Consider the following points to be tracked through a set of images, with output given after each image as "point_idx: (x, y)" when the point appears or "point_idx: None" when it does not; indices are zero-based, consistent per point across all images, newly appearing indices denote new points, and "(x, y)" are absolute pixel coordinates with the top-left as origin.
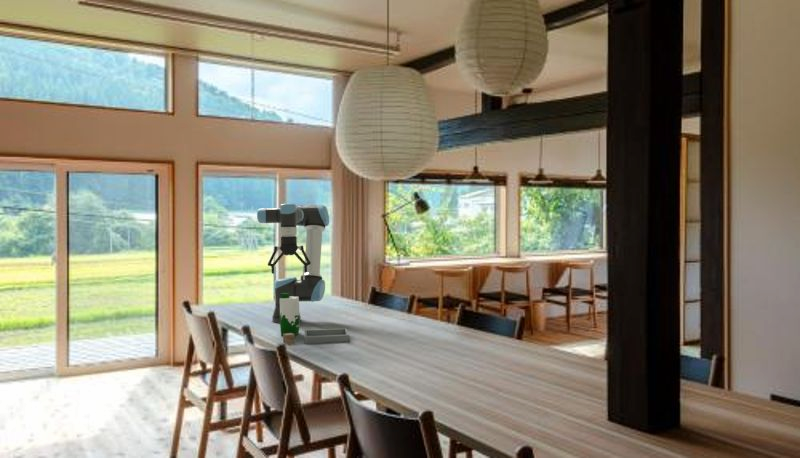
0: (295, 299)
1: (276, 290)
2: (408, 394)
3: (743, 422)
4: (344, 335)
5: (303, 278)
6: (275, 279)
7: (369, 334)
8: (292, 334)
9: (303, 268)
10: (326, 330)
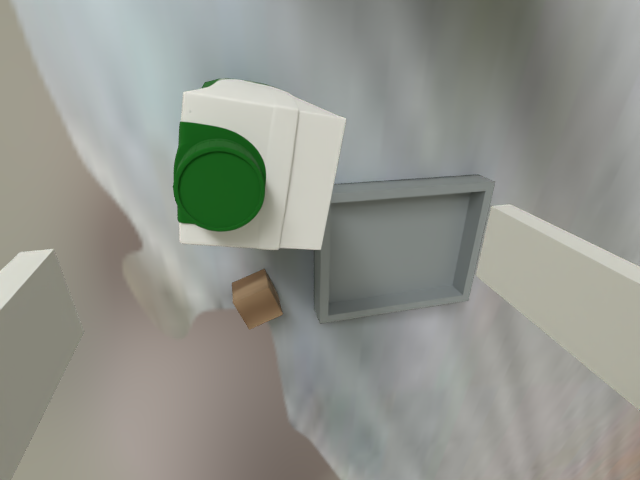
0: (317, 247)
1: None
2: None
3: None
4: (454, 302)
5: (491, 283)
6: (70, 347)
7: (548, 183)
8: (274, 315)
9: (629, 392)
10: (412, 195)
